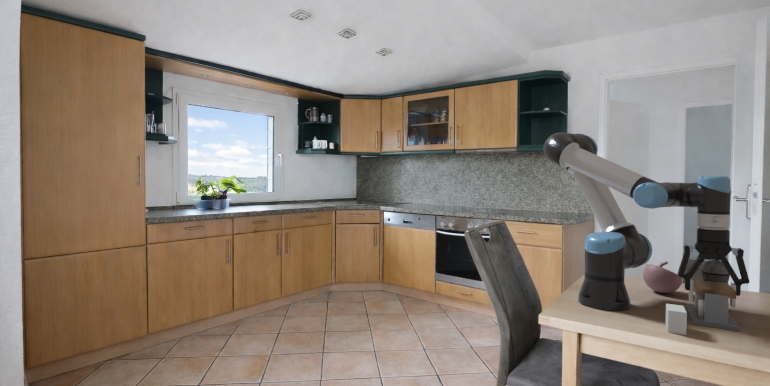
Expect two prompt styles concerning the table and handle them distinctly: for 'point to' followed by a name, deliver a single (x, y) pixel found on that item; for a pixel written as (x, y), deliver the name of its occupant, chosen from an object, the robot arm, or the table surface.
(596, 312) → the table surface
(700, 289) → the board
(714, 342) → the table surface
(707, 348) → the table surface
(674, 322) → the grey rectangular block
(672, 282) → the mortar and pestle
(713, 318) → the cradle
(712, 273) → the beverage cup
